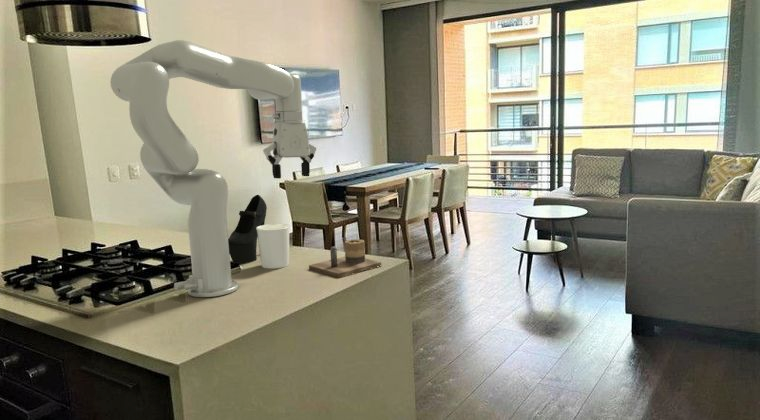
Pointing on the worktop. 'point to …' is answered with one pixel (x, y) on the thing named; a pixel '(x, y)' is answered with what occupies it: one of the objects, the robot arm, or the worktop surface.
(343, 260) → the pin board
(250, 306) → the worktop surface
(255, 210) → the high-heeled shoe
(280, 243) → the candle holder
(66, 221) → the worktop surface
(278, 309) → the worktop surface
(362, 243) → the sleeve
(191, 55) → the robot arm
